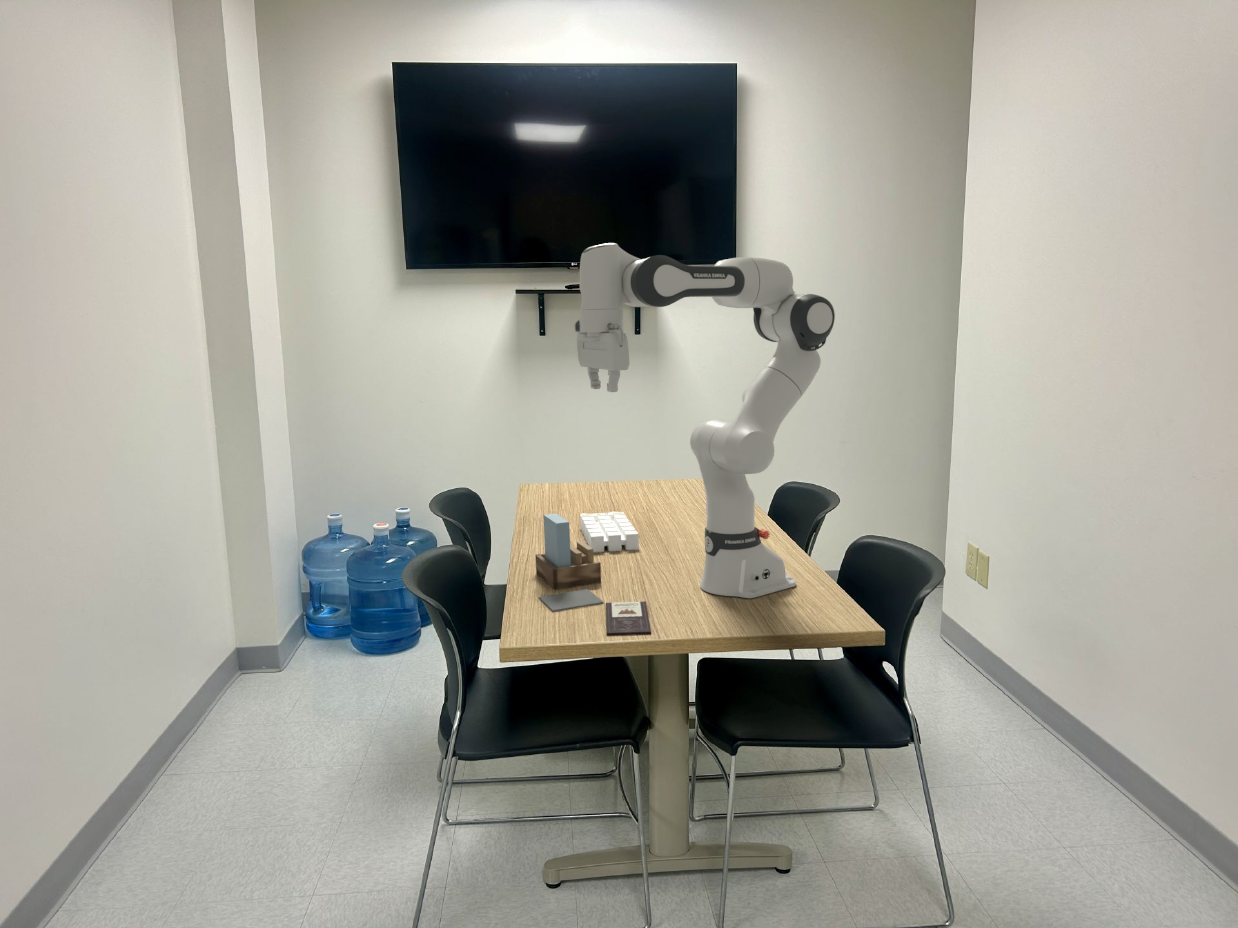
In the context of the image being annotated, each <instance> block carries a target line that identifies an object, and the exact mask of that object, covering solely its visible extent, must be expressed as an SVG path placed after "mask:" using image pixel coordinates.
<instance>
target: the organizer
mask: <svg viewBox="0 0 1238 928" xmlns="http://www.w3.org/2000/svg"><path fill="white" fill-rule="evenodd" d="M579 516H580V530H581V533H582V535H583V537H584V539H585V541H586V544H587V545H588V546H590V547H591V548H593V552H594V553H603V552H604V553H605V547H606V548H607V551H608V552H619V551H621V552H622V548H623V547H624V548H625V551H632V550H640V548H639V547H640V544H639V541H640V540H639V539H640V538H639V537H640V535H639V532H638V531H637V530H636V528H635V527H634V526H633V524H632V523H631V521H630V519H628V518H627V515H626V514H625V513H624V511H610V512H601V513H597V512H596V513H586V512H585V513H583V512H582V513H580V515H579ZM622 546H623V547H622Z"/></svg>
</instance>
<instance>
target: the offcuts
mask: <svg viewBox="0 0 1238 928" xmlns="http://www.w3.org/2000/svg"><path fill="white" fill-rule="evenodd" d="M594 554H595V552H593V548H591V547H590V546H588V543H586V542H585V541H582V540H581V541H576V546H575V545H571V544H570V557H571V566H575V565H581V564H588V563H594V562H595V557H594Z"/></svg>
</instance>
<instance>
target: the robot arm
mask: <svg viewBox="0 0 1238 928" xmlns="http://www.w3.org/2000/svg"><path fill="white" fill-rule="evenodd" d="M579 261H580V262H579V263H580V264H579V291H580V295H581V304H580V307H579V308H580V309H579V310H580V316H579V318H578V319H577V320H576V321H575V322H574V332H575V333H576V334H577V335H576V348H577V349H576V350H577V359H578V363H579V365H580V367H582V368H587V375H588V378H589V381H590V383H589V384H590V389H592V390H600V389H601V380H600V377H599V372H600V370H606V371H607V375H608V382H607V383H606V390H607V391H606V392H609V393H617V392H618V390H619V387H618V386H619V385H618V384H619V380H620V377H621V371H627V370H628V369H629V366H630V350H629V340H628V337H627V335H626V334H627V333H624V305H627V306H629V307H633V308H647V307H656V308H662V307H667V306H670V305H672V304H674V303H676V302H678V301H680V300H682V299H684V298H710V297H711V298H712V299H713V301H714V302H715V303H716V304H717V305H718V306H722V307H727V308H735V309H752V308H753V309H752V311H753V324H754V329H755V331H756V333H757V334H758V335H759V336H760V337H761V338H762V339H764V340H766V341H768V342H772V343H777V347H776V349H775V352H774V353H773V356H772V357H771V359H769V360H768V362H767V363H766V364H765V365H764V366H763V368H761V370H760V371H759V373H758V374H757V375H756V376H755V378H754V379H752V381H751V382H750V384H749V385H748V386H747V387H746V389H745V390H744V391H743V393H742V396H741V398H742V405H741V408H740V409H739V412H738V414H737V415H736V417H735V418H734V419H733V420H731V421H729V420H724V419H720V418H719V419H711V420H706V421H703V422H701V423H699V424H697V425H696V426H695V427H694V429H693V430H692V432H691V435H690V441H689V443H690V444H689V445H690V449H691V450H692V453H693V454H694V456H695V458H696V460H697V463H698V466H699V470H700V475H701V479H702V483H703V486H704V492H705V493H704V494H705V501H706V502H705V503H706V508H705V509H706V512H705V513H706V527H705V528H704V551H705V560H704V567H703V572H702V577H701V581H700V584H699V587H700V588H701V590H702V591H704V592H707V593H710V594H713V595H717V596H725V597H737V598H738V597H739V598H743V599H754V598H757V597H762V596H766V595H768V594H772V593H776V592H780V591H784V590H787V589H789V588H793V587H796V580H795V578H793V577H792V576H791V575H789V574H788V573H786V567H785V563H784V560H783V558H782V557H781V556H780V555H779V554H778V553H777V552H775V551H773V550H772V549H771V548H769V547H768V546H766V545H765V544H764V543H762V540H761V538H762V539H763V540H768V539H769V537H770V531H768V530H766V529H759V528H758V527H756V526H755V505H756V504H755V499H756V498H755V493H754V491H753V490H752V488H751V487H750V485H749V483H748V482H749V481H748V480H747V477H746V475H756V474H759V473H760V474H761V473H762V472H764V471H765V470H767V469H768V468H769V467H770V465H771V463H772V462H773V460H774V456H775V444H774V441H775V437H776V434H777V432H778V429H779V428H780V426H781V424H782V422H783V421H784V420H785V418H786V417H787V416H788V415H789V413H790V412H791V410H792V409H793V408H794V406H795V405H796V404H797V403H798V402H799V400H800V399H801V398H802V396H803V395H804V394H805V393H806V391H807V390H808V388H809V386H810V385H811V384H812V383H813V380H814V379H815V377H816V376H817V373H818V372H819V370H820V367H821V363H822V360H821V355H820V354H819V352H818V351H817V350H819V349H820V348H822V347H823V346H824V345H825V344H826V341H827V338H829V335H830V334H831V332H832V330H833V327H834V324H835V319H836V318H835V317H836V315H835V313H836V312H835V309H834V306H833V304H832V302H830V300H829V299H827V298H826V297H824V296H821V295H817V294H814V293H807V294H804V293H803V294H802V293H796V292H795V291H794V287H793V286H794V277H793V273H792V271H791V269H790V267H789V266H788V265H787V264H785V263H783V262H781V261H777V260H773V259H770V258H769V259H768V258H762V257H748V256H747V257H746V256H745V257H744V256H742V257H732V258H731V257H730V258H728V259H722V260H718V261H717V262H716V263H715V264H714V265H691V264H690V265H689V264H688V265H687V264H686V263H685V264H684V263H682V262H680V261H677V260H676V259H674V258H672V257H670V256H667V255H662V254H657V255H651V256H649V257H646V258H642V259H641V258H639V257H637V256H634V255H632V254H630V253H628V252H627V251H625V250H624V249H622V248H621V247H620V245H619V244H618V243H615V242H608V243H606V242H605V243H602V244H598V245H592V246H589V247H587V248H585V249H584V250H583V251H582V253H581V256H580V260H579Z"/></svg>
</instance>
